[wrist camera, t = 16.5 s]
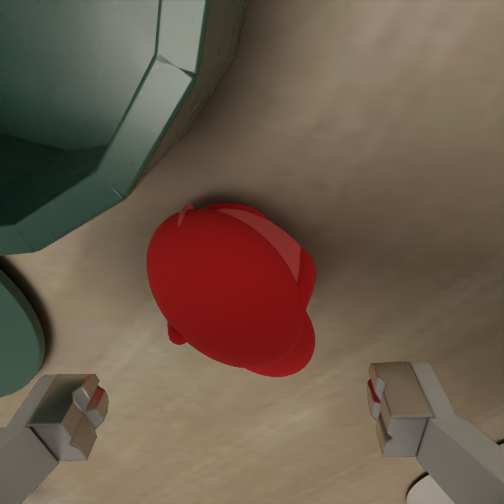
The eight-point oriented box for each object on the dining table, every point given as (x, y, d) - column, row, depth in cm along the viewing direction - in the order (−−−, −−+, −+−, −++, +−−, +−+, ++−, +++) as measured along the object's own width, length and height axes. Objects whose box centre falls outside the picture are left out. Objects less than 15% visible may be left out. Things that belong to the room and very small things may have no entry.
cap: (143, 256, 17) (89, 348, 12) (195, 159, 14) (153, 227, 9) (272, 321, 19) (272, 423, 14) (341, 248, 16) (373, 344, 11)
